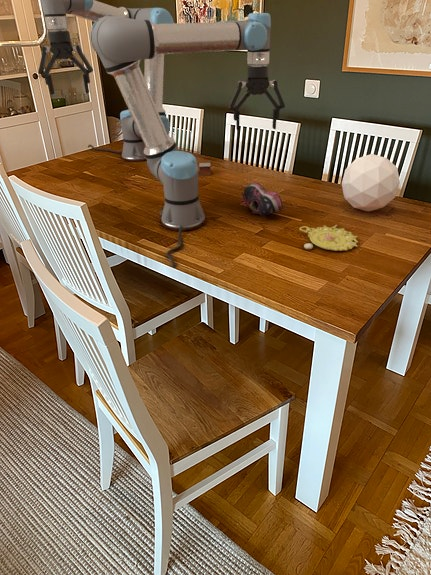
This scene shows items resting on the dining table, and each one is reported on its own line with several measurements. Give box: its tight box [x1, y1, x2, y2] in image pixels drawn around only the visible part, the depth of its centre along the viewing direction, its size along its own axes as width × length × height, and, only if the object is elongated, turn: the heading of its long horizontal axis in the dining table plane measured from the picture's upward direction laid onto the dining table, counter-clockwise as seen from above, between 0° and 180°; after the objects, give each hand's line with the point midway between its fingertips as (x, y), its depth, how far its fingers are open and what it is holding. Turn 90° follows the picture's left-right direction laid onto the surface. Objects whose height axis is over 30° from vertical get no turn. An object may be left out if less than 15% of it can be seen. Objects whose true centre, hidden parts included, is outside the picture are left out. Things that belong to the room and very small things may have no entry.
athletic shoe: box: [238, 182, 284, 217], centre depth 160 cm, size 11×22×12 cm
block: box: [198, 162, 212, 177], centre depth 199 cm, size 5×5×4 cm
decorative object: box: [299, 224, 359, 252], centre depth 141 cm, size 21×2×20 cm
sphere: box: [341, 153, 401, 213], centre depth 157 cm, size 19×20×20 cm
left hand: (70, 93), depth 172 cm, fingers open, 13 cm apart
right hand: (256, 129), depth 164 cm, fingers open, 13 cm apart
